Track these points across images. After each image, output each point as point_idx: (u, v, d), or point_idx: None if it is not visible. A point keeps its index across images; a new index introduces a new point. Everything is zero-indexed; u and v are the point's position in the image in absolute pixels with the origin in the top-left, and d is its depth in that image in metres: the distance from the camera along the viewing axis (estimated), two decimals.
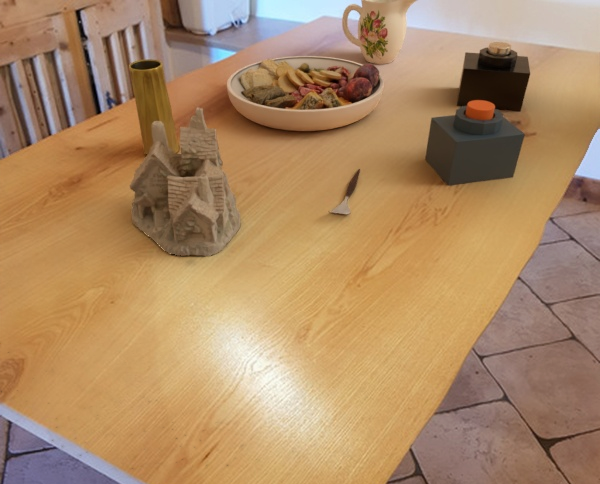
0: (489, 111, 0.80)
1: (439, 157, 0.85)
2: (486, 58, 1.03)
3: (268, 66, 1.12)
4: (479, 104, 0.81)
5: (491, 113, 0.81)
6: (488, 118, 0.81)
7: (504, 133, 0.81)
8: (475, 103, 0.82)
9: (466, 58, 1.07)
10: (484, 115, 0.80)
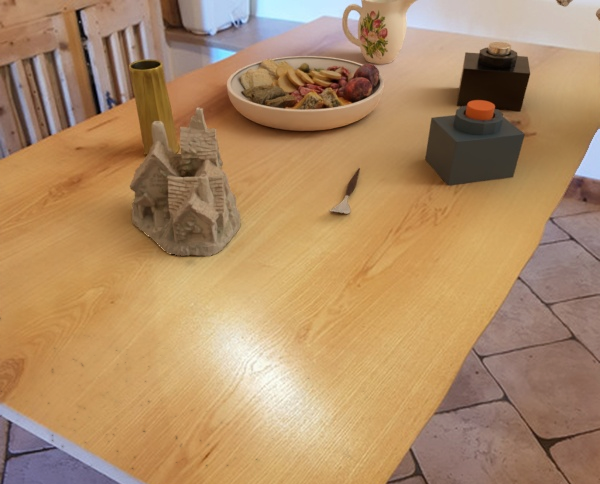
0: (489, 111, 0.80)
1: (439, 157, 0.85)
2: (486, 58, 1.03)
3: (268, 66, 1.12)
4: (479, 104, 0.81)
5: (491, 113, 0.81)
6: (488, 118, 0.81)
7: (504, 133, 0.81)
8: (475, 103, 0.82)
9: (466, 58, 1.07)
10: (484, 115, 0.80)
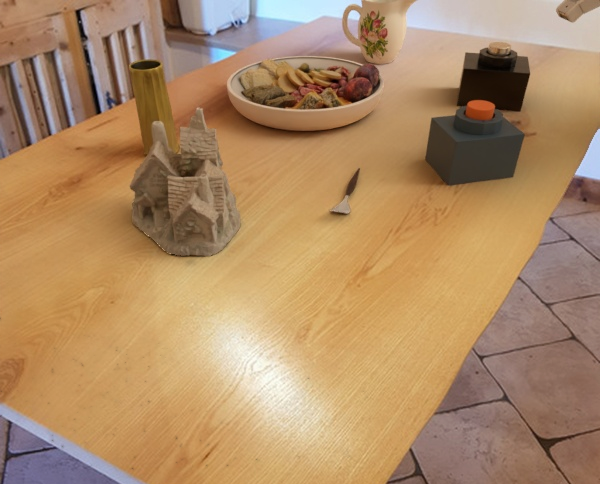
0: (489, 111, 0.80)
1: (439, 157, 0.85)
2: (486, 58, 1.03)
3: (268, 66, 1.12)
4: (479, 104, 0.81)
5: (491, 113, 0.81)
6: (488, 118, 0.81)
7: (504, 133, 0.81)
8: (475, 103, 0.82)
9: (466, 58, 1.07)
10: (484, 115, 0.80)
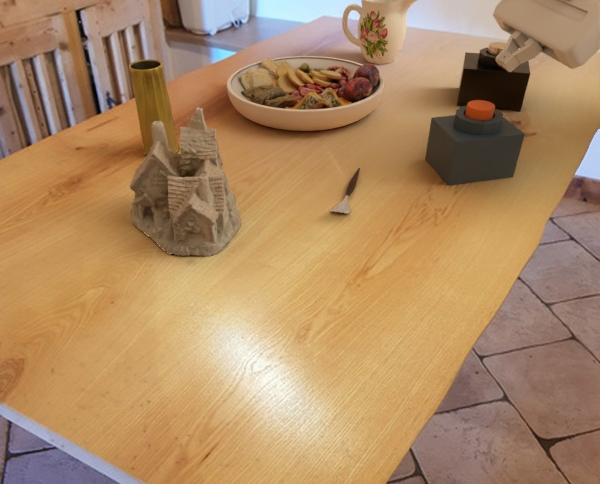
0: (489, 111, 0.80)
1: (439, 157, 0.85)
2: (486, 58, 1.03)
3: (268, 66, 1.12)
4: (479, 104, 0.81)
5: (491, 113, 0.81)
6: (488, 118, 0.81)
7: (504, 133, 0.81)
8: (475, 103, 0.82)
9: (466, 58, 1.07)
10: (484, 115, 0.80)
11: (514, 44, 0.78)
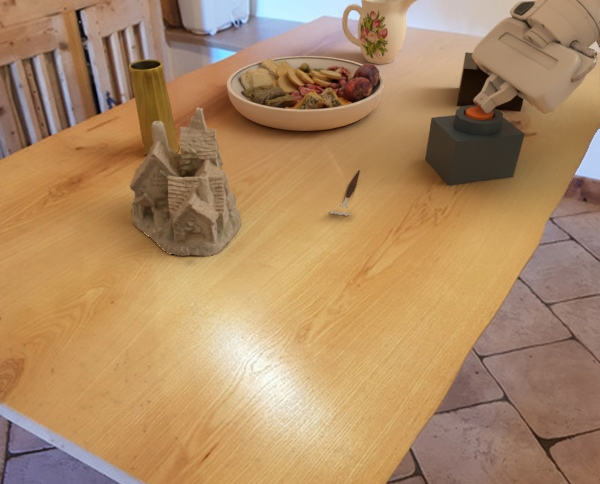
0: (487, 118, 0.81)
1: (439, 157, 0.85)
2: None
3: (268, 66, 1.12)
4: (477, 111, 0.82)
5: None
6: None
7: (504, 133, 0.81)
8: (474, 110, 0.82)
9: (466, 58, 1.07)
10: None
11: (491, 86, 0.82)
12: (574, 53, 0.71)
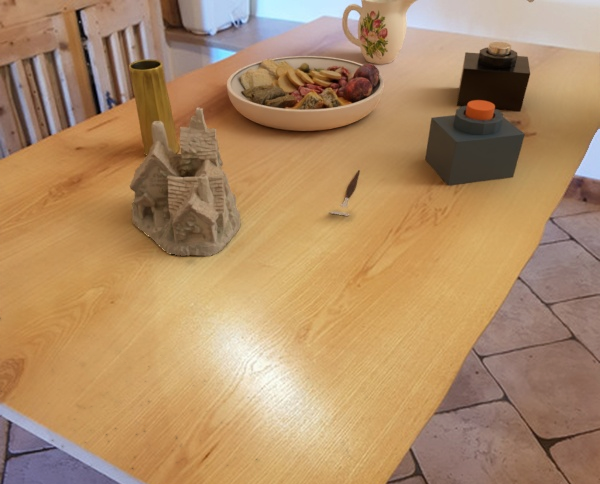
0: (489, 111, 0.80)
1: (439, 157, 0.85)
2: (486, 58, 1.03)
3: (268, 66, 1.12)
4: (479, 104, 0.81)
5: (491, 113, 0.81)
6: (488, 118, 0.81)
7: (504, 133, 0.81)
8: (475, 103, 0.82)
9: (466, 58, 1.07)
10: (484, 115, 0.80)
11: None
12: None
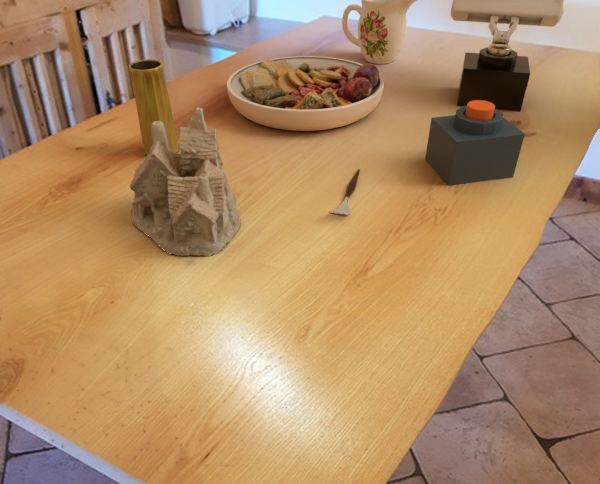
0: (489, 111, 0.80)
1: (439, 157, 0.85)
2: (486, 58, 1.03)
3: (268, 66, 1.12)
4: (479, 104, 0.81)
5: (491, 113, 0.81)
6: (488, 118, 0.81)
7: (504, 133, 0.81)
8: (475, 103, 0.82)
9: (466, 58, 1.07)
10: (484, 115, 0.80)
11: None
12: None
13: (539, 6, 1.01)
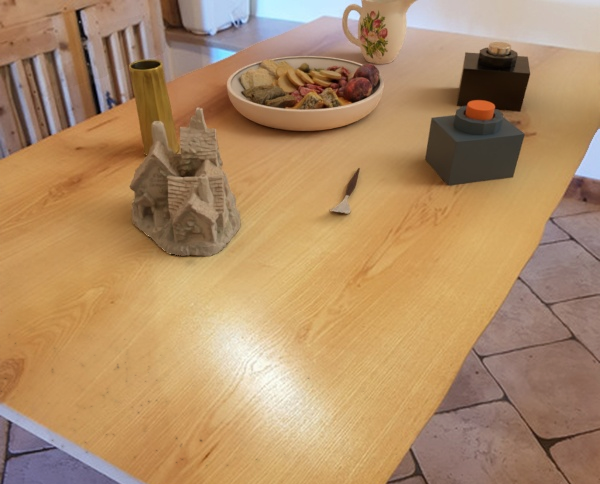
0: (489, 111, 0.80)
1: (439, 157, 0.85)
2: (486, 58, 1.03)
3: (268, 66, 1.12)
4: (479, 104, 0.81)
5: (491, 113, 0.81)
6: (488, 118, 0.81)
7: (504, 133, 0.81)
8: (475, 103, 0.82)
9: (466, 58, 1.07)
10: (484, 115, 0.80)
11: None
12: None
13: None
